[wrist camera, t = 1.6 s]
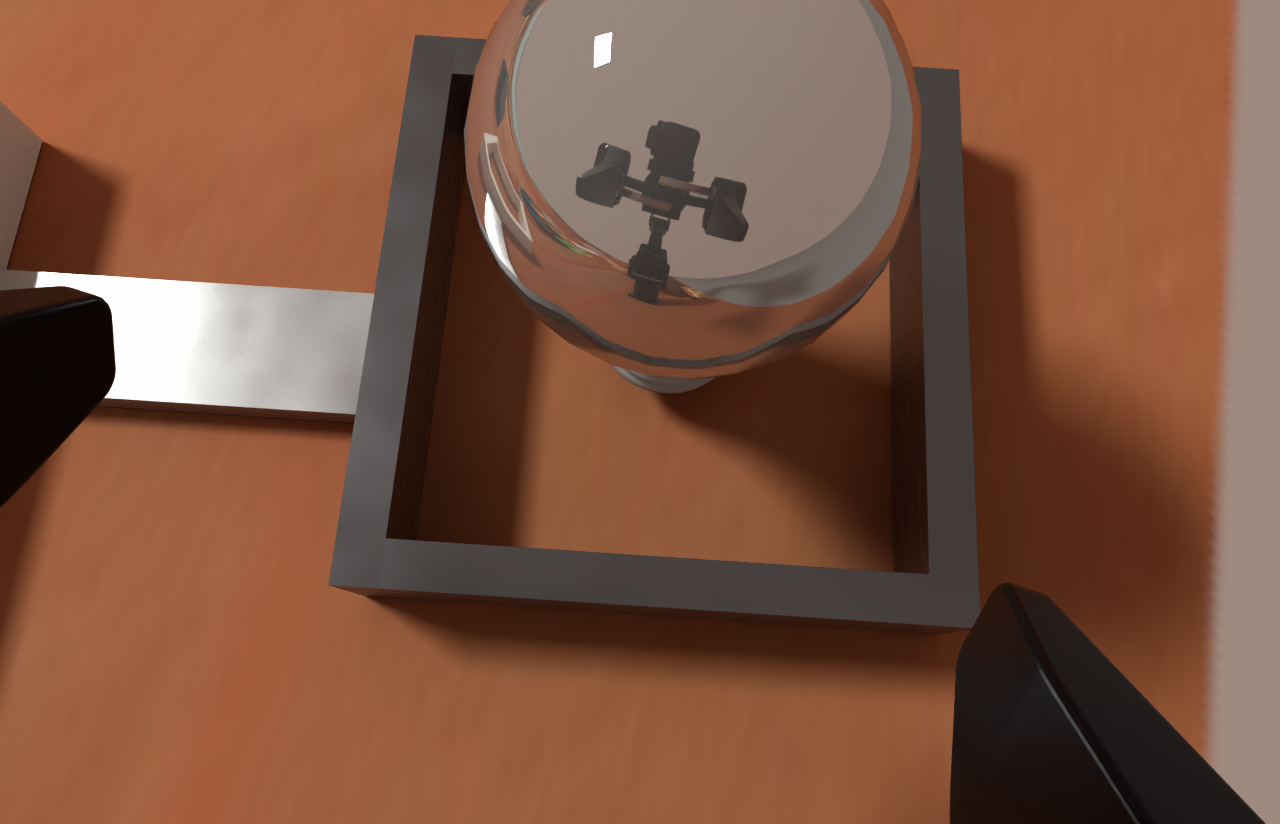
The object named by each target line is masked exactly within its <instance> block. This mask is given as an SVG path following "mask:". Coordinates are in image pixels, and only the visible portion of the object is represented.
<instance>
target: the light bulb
mask: <svg viewBox="0 0 1280 824" xmlns="http://www.w3.org/2000/svg"><path fill="white" fill-rule="evenodd" d="M464 143H465V159H466V173H467V180H468V188H469V195H470V199H471V203H472V206H473V209H474V213H475V216H476V220H477V223H478V227H479V230H480V233H481V236H482V238H483V239H484V241H485V243H486V245H487V247H488V248H489V250H490V252H491V254H492V256H493V258H494V259H495V261H496V263H497V265H498V267H499V269H500V270H501V272H502V274H503V276H504V277H505V279H506V281H507V283H508V284H509V286H510V288H511V289H512V290H513V291H514V292H515V294H516V295H517V296H518V297H519V298H520V299H521V301H522V302H523V303H524V304H525V305H526V306H527V308H528V309H529V310H530V311H531V312H532V313H533V315H534V316H535V317H536V318H537V319H538V320H540V321H541V322H542V323H544V324H545V325H546V326H548V327H549V328H550V329H551V330H553V331H554V332H555V333H557V334H558V335H559V336H560V337H562V338H563V339H564V340H566V341H567V342H568V343H570V344H572V345H573V346H575V347H577V348H579V349H581V350H583V351H585V352H587V353H589V354H591V355H593V356H595V357H597V358H599V359H601V360H603V361H605V362H607V363H609V364H611V365H612V367H613V368H614V369H615V370H616V371H617V372H618V373H619V374H620V375H621V376H622V377H623V378H625V379H626V380H628V381H629V382H631V383H632V384H634V385H636V386H638V387H640V388H643V389H646V390H649V391H653V392H658V393H681V392H686V391H690V390H693V389H696V388H698V387H701V386H703V385H705V384H706V383H708V382H710V381H711V380H713V379H714V378H715V377H719V376H728V375H733V374H737V373H740V372H743V371H747V370H750V369H753V368H757V367H760V366H764V365H767V364H770V363H774V362H777V361H779V360H781V359H782V358H784V357H786V356H788V355H790V354H792V353H794V352H796V351H798V350H800V349H802V348H803V347H805V346H807V345H809V344H811V343H813V342H814V341H815V340H817V339H818V338H819V337H820V336H822V335H823V334H824V333H825V332H826V331H828V330H829V329H830V328H831V327H833V326H834V325H835V324H836V323H837V322H839V321H840V320H841V319H842V318H844V317H845V316H846V315H847V314H848V312H849V311H850V310H851V309H852V308H853V307H854V306H855V305H856V304H857V303H858V302H859V301H860V300H861V298H862V297H863V296H864V295H865V293H866V292H867V291H868V290H869V288H870V287H871V286H872V284H873V283H874V282H875V281H876V279H877V278H878V277H879V276H880V274H881V273H882V272H883V271H884V269H885V267H886V265H887V263H888V261H889V259H890V257H891V255H892V253H893V251H894V249H895V247H896V245H897V243H898V241H899V238H900V236H901V234H902V232H903V230H904V227H905V224H906V222H907V219H908V217H909V214H910V212H911V209H912V205H913V201H914V196H915V192H916V188H917V183H918V179H919V175H920V167H921V101H920V96H919V92H918V88H917V83H916V79H915V74H914V70H913V66H912V63H911V60H910V57H909V55H908V52H907V49H906V46H905V43H904V41H903V39H902V36H901V34H900V32H899V30H898V28H897V26H896V23H895V21H894V19H893V17H892V15H891V13H890V10H889V9H888V7H887V6H886V5H885V3H884V2H883V0H510V2H509V3H508V5H507V6H506V7H505V9H504V10H503V12H502V14H501V15H500V17H499V18H498V20H497V21H496V23H495V24H494V26H493V27H492V29H491V31H490V33H489V35H488V38H487V40H486V43H485V45H484V48H483V50H482V53H481V55H480V58H479V60H478V62H477V65H476V68H475V73H474V77H473V82H472V87H471V91H470V97H469V103H468V109H467V115H466V121H465V127H464Z"/></svg>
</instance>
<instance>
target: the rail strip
mask: <svg viewBox="0 0 1280 824" xmlns="http://www.w3.org/2000/svg"><path fill="white" fill-rule="evenodd" d="M49 286H68V287H72V288H75V289H78V290H82V291H85V292H88V293H91V294H94V295H97V296H100V297H102V298H103V299H104V300H105V301H106V302H107V303H108V304H109V306H110V308H111V311H112V318H113V332H114V347H115V361H116V375H115V380H114V383H113V385H112V387H111V389H110V391H109V393H108V394H107V395H106V397H105V398H104V399H103V400H102V401H101V402H100V403H99V404H98V405H97V406H106V407H121V408H136V409H152V410H167V411H182V412H197V413H213V414H228V415H243V416H258V417H273V418H289V419H304V420H319V421H334V422H349V423H354V420H355V414H356V408H357V401H358V395H359V389H360V382H361V376H362V370H363V363H364V357H365V351H366V344H367V338H368V332H369V325H370V319H371V313H372V306H373V300H374V294H372V293H356V292H341V291H326V290H310V289H295V288H280V287H264V286H249V285H234V284H218V283H203V282H188V281H172V280H157V279H142V278H126V277H111V276H96V275H80V274H65V273H50V272H34V271H19V270H4V269H1V273H0V290H10V289H23V288H36V287H49Z"/></svg>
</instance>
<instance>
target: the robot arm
mask: <svg viewBox="0 0 1280 824" xmlns="http://www.w3.org/2000/svg"><path fill="white" fill-rule="evenodd" d="M115 375H116V361H115V347H114V332H113V318H112V311H111V308H110V306H109V304H108V303H107V302H106V301H105V300H104V299H103V298H102V297H100V296H97V295H94V294H91V293H88V292H85V291H82V290H78V289H75V288H72V287H68V286H49V287H36V288H23V289H10V290H0V508H1V507H2V506H3V505H4V504H5V503H6V502H7V501H8V500H9V499H10V498H11V497H12V496H13V495H14V494H15V493H16V492H17V491H18V490H19V489H20V488H21V487H22V486H23V485H24V484H25V483H26V482H27V481H28V480H29V479H30V478H31V476H32V475H33V474H34V473H35V472H36V471H37V470H38V469H39V468H40V467H41V466H42V465H43V464H44V462H45V461H46V460H47V459H48V458H49V457H50V456H51V455H52V454H53V453H54V452H55V451H56V450H57V448H58V447H59V446H60V445H61V444H62V443H63V442H64V441H65V440H66V439H67V438H68V437H69V435H70V434H71V433H72V432H73V431H74V430H75V429H76V428H77V427H78V426H79V425H80V424H81V423H82V421H83V420H84V419H85V418H86V417H87V416H88V415H89V414H90V413H91V412H92V411H93V410H94V408H95V407H96V406H97V405H98V404H99V403H100V402H101V401H102V400H103V399H104V398H105V397H106V395H107V394H108V393H109V391H110V389H111V387H112V385H113V383H114V380H115ZM950 824H1265V823H1264V821H1262V819H1260V817H1259V816H1258V815H1257V814H1256V813H1255V812H1254V811H1253V810H1252V809H1251V808H1250V807H1249V806H1248V805H1247V804H1246V803H1245V802H1244V801H1243V800H1242V799H1241V798H1240V796H1239V795H1238V794H1237V793H1236V792H1235V791H1234V790H1233V789H1232V788H1231V787H1230V786H1229V785H1228V784H1227V783H1226V782H1225V781H1224V780H1223V779H1222V778H1221V777H1220V776H1219V774H1218V773H1217V772H1216V771H1215V770H1214V769H1213V768H1212V767H1211V766H1210V765H1209V764H1208V763H1207V762H1206V761H1205V760H1204V759H1203V758H1202V757H1201V756H1200V755H1199V754H1198V753H1197V751H1196V750H1195V749H1194V748H1193V747H1192V746H1191V745H1190V744H1189V743H1188V742H1187V741H1186V740H1185V739H1184V738H1183V737H1182V736H1181V735H1180V734H1179V733H1178V732H1177V731H1176V730H1175V728H1174V727H1173V726H1172V725H1171V724H1170V723H1169V722H1168V721H1167V720H1166V719H1165V718H1164V717H1163V716H1162V715H1161V714H1160V713H1159V712H1158V711H1157V710H1156V709H1155V708H1154V707H1153V705H1152V704H1151V703H1150V702H1149V701H1148V700H1147V699H1146V698H1145V697H1144V696H1143V695H1142V694H1141V693H1140V692H1139V691H1138V690H1137V689H1136V688H1135V687H1134V686H1133V685H1132V684H1131V682H1130V681H1129V680H1128V679H1127V678H1126V677H1125V676H1124V675H1123V674H1122V673H1121V672H1120V671H1119V670H1118V669H1117V668H1116V667H1115V666H1114V665H1113V664H1112V663H1111V662H1110V661H1109V659H1108V658H1107V657H1106V656H1105V655H1104V654H1103V653H1102V652H1101V651H1100V650H1099V649H1098V648H1097V647H1096V646H1095V645H1094V644H1093V643H1092V642H1091V641H1090V640H1089V639H1088V638H1087V636H1086V635H1085V634H1084V633H1083V632H1082V631H1081V630H1080V629H1079V628H1078V627H1077V626H1076V625H1075V624H1074V623H1073V622H1072V621H1071V620H1070V619H1069V618H1068V617H1067V616H1066V614H1065V613H1064V612H1063V611H1062V610H1061V609H1060V608H1059V607H1058V606H1057V605H1056V604H1055V603H1054V602H1053V601H1052V600H1051V599H1050V598H1049V597H1048V596H1046V595H1044V594H1043V593H1040V592H1037V591H1034V590H1030V589H1027V588H1024V587H1021V586H1018V585H1014V584H1011V583H1003V584H1000V585H998V586H997V587H996V588H995V589H994V590H993V592H992V593H991V595H990V596H989V598H988V600H987V602H986V604H985V605H984V607H983V609H982V611H981V613H980V614H979V616H978V618H977V620H976V621H975V623H974V625H973V627H972V629H971V630H970V632H969V634H968V636H967V638H966V639H965V641H964V643H963V645H962V647H961V650H960V653H959V656H958V661H957V666H956V681H955V702H954V722H953V743H952V763H951V784H950Z"/></svg>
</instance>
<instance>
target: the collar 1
mask: <svg viewBox="0 0 1280 824" xmlns="http://www.w3.org/2000/svg"><path fill="white" fill-rule="evenodd" d="M42 141H43V140H42V139H41V138H39V137H38V136H37V135H36V134H35V133H34V132H33V131H32V130H31V129H30V128H29V127H27V126H26V125H25V124H24V123H23V122H22V121H21V120H20V119H19V118H18V117H17V116H15V115H14V114H13V113H12V112H11V111H10V110H9V109H8V108H7V107H6V106H5V105H3V104H2V103H1V102H0V273H1V269H4V270H6V269H7V265H8V262H9V258H10V254H11V251H12V247H13V244H14V240H15V237H16V233H17V230H18V226H19V223H20V219H21V215H22V212H23V208H24V205H25V201H26V198H27V194H28V191H29V187H30V184H31V180H32V176H33V173H34V169H35V166H36V162H37V159H38V155H39V152H40V148H41V145H42Z"/></svg>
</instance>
